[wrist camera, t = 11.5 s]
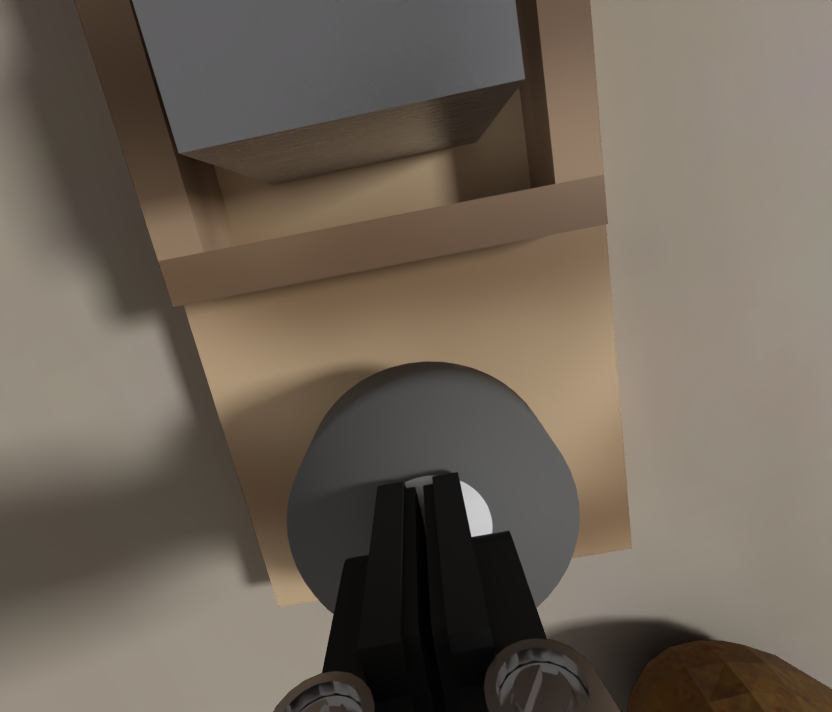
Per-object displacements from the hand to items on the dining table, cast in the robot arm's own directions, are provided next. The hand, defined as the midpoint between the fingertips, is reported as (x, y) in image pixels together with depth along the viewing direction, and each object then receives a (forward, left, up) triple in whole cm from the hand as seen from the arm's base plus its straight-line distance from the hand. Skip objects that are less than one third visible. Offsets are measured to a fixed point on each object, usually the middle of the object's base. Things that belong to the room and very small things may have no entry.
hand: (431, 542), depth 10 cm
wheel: (0, 0, -2) cm, 2 cm away
